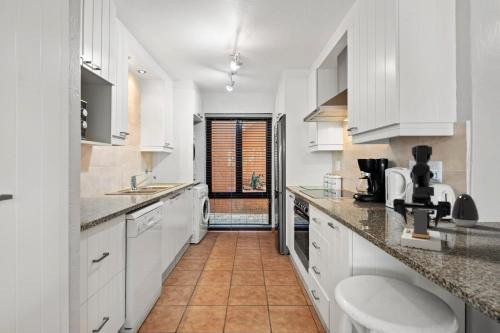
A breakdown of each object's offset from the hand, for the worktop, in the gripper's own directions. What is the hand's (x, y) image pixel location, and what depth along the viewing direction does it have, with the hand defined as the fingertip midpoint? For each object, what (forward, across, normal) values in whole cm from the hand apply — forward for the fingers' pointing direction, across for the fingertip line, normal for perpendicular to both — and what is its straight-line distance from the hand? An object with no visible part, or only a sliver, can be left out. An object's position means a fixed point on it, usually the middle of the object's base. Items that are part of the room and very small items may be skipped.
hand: (420, 225), depth 100 cm
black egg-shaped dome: (-27, +17, +37) cm, 49 cm away
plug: (+5, 0, +6) cm, 8 cm away
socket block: (+2, 0, +8) cm, 9 cm away
